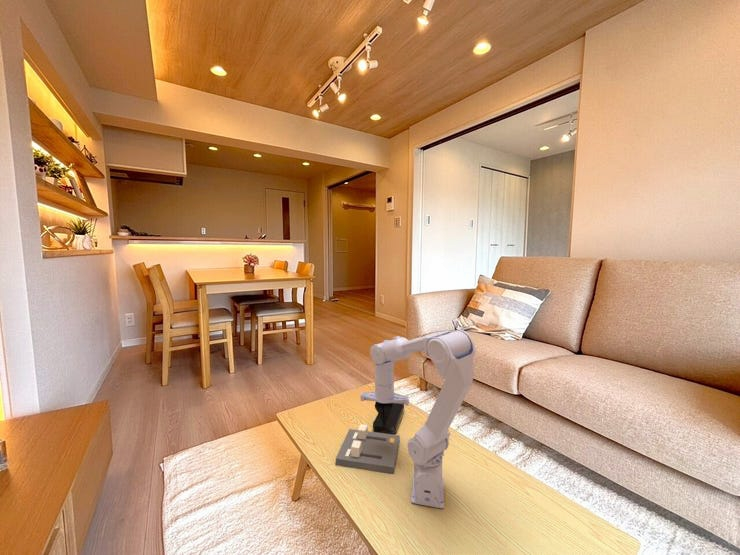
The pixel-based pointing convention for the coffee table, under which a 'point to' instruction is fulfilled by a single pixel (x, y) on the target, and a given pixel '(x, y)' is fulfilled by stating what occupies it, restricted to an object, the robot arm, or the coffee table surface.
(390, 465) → the grey flat block
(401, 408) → the black sponge
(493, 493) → the coffee table surface
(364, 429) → the block
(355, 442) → the block
